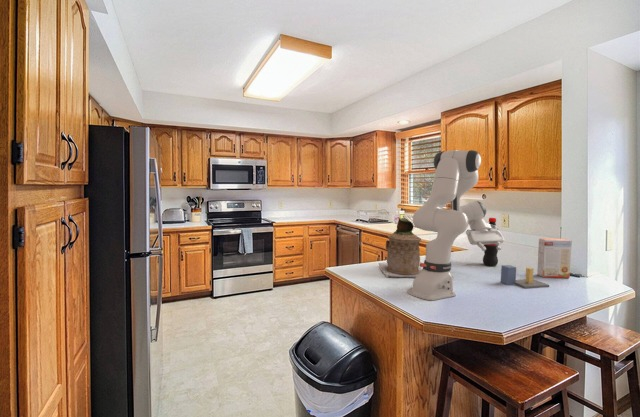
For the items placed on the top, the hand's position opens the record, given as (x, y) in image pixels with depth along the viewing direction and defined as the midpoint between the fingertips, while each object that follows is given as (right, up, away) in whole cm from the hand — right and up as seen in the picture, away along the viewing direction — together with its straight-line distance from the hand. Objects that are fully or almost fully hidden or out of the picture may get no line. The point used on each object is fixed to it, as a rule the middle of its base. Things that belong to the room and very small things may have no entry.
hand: (492, 249), depth 172 cm
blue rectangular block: (+2, -16, -11) cm, 19 cm away
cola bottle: (+13, -13, +26) cm, 32 cm away
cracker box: (+35, -15, +2) cm, 38 cm away
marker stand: (+12, -16, -12) cm, 23 cm away
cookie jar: (-47, -14, +9) cm, 50 cm away
